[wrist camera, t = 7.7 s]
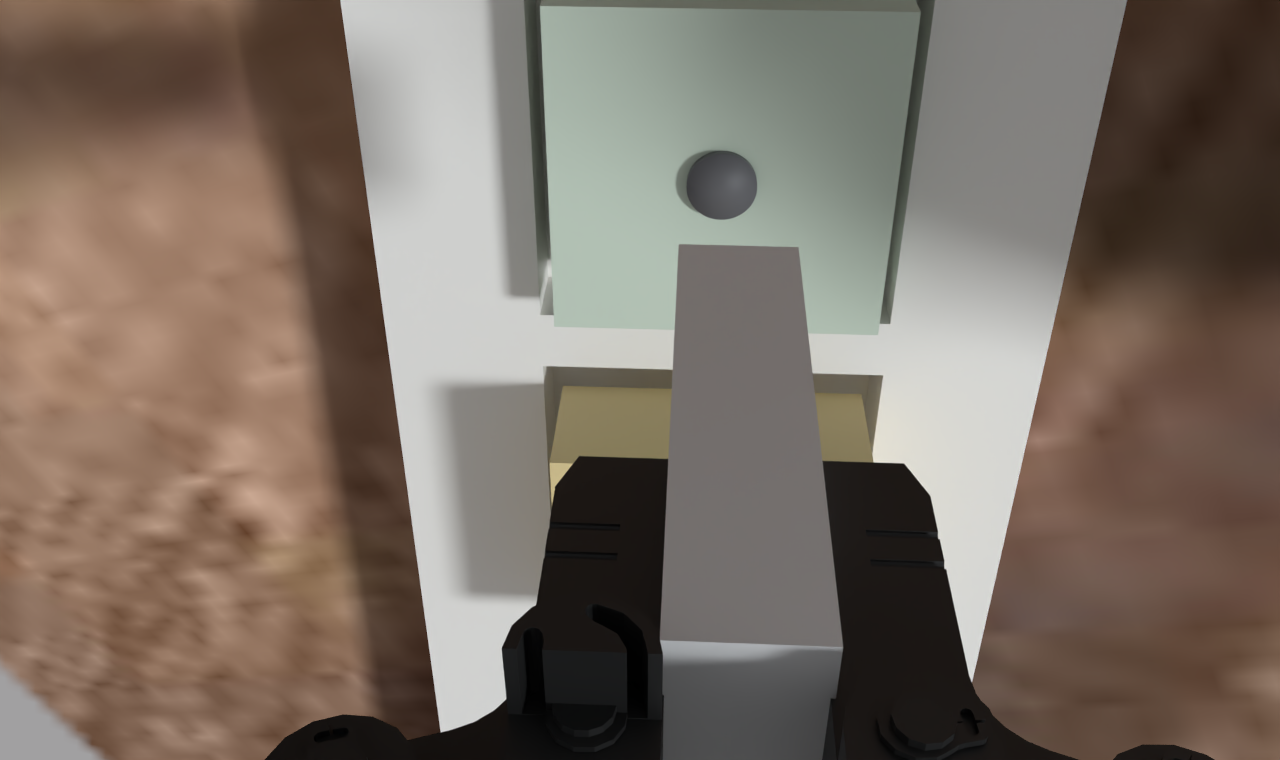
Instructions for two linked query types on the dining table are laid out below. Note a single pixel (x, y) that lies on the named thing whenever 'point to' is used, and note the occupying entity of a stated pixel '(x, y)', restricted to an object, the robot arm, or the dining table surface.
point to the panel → (643, 358)
